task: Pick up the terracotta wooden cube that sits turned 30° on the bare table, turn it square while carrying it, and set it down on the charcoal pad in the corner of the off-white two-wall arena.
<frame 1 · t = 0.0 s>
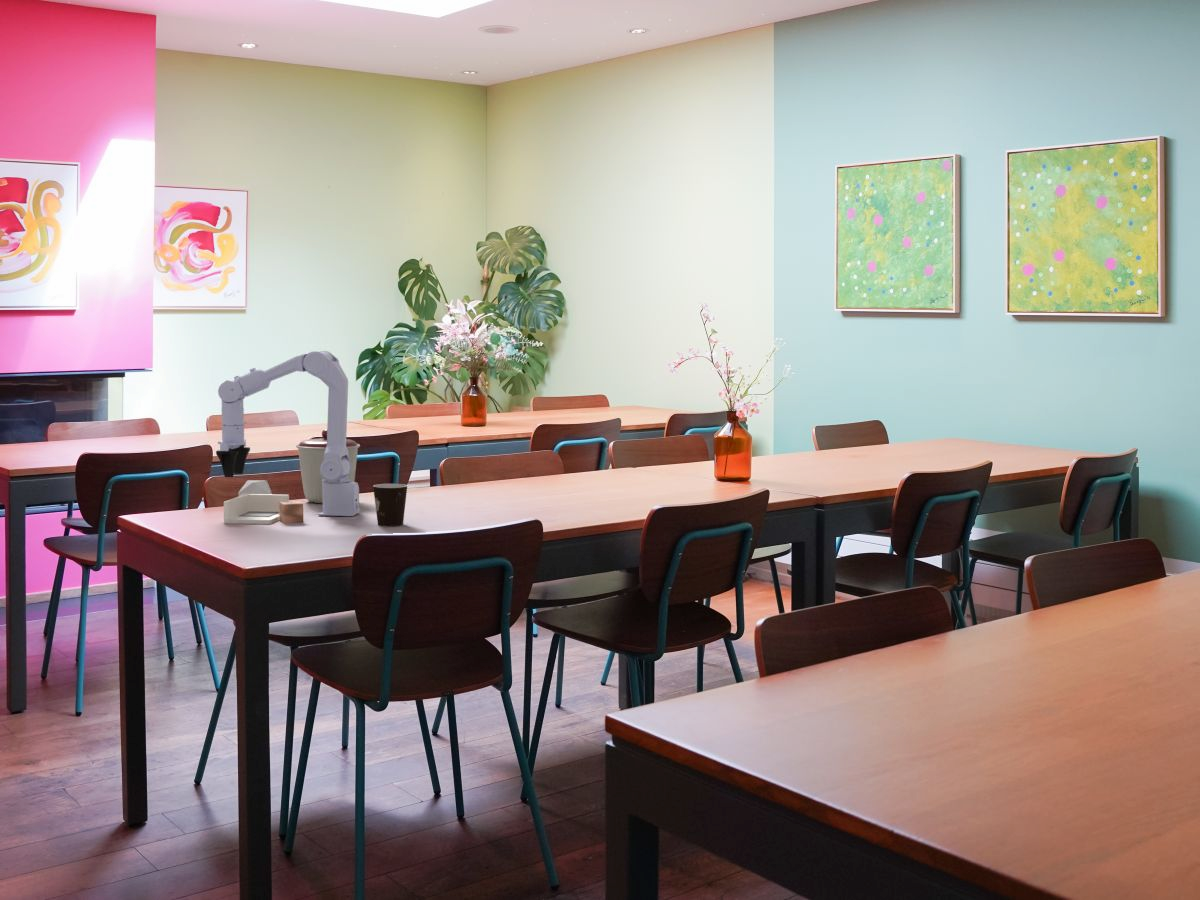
hand: (233, 475, 339), 10 cm above the table, fingers open, 7 cm apart
canister: (328, 502, 363), on the table
coffee mug: (390, 526, 319), on the table
arena: (257, 519, 328), on the table
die: (256, 510, 345), on the table
cube: (291, 521, 324), on the table
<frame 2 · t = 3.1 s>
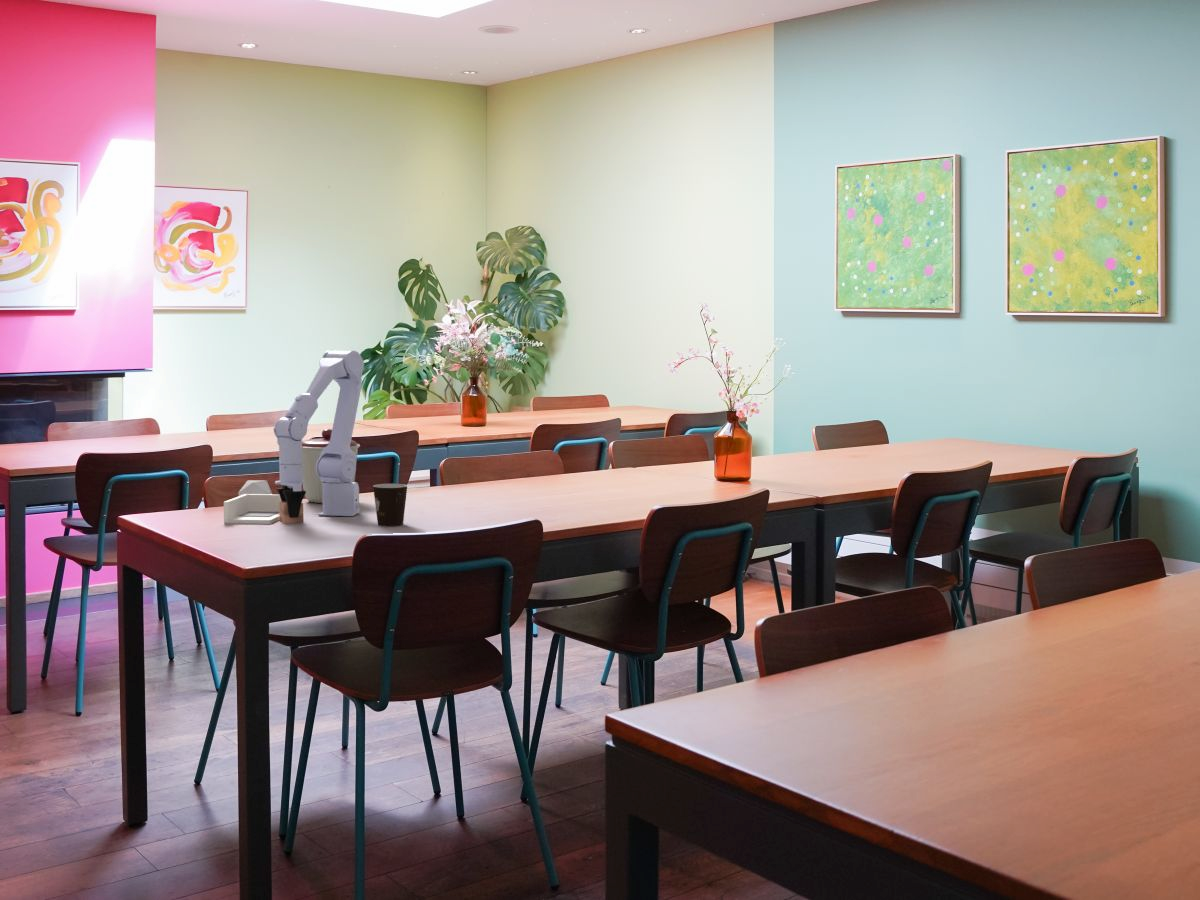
hand: (291, 516, 324), 1 cm above the table, fingers closed on cube, 5 cm apart
cube: (291, 521, 324), on the table, touching gripper
everything else where it was.
when the fingers open (4 cm above the table, at t = 6.8 s): cube stays where it is, resting on arena.
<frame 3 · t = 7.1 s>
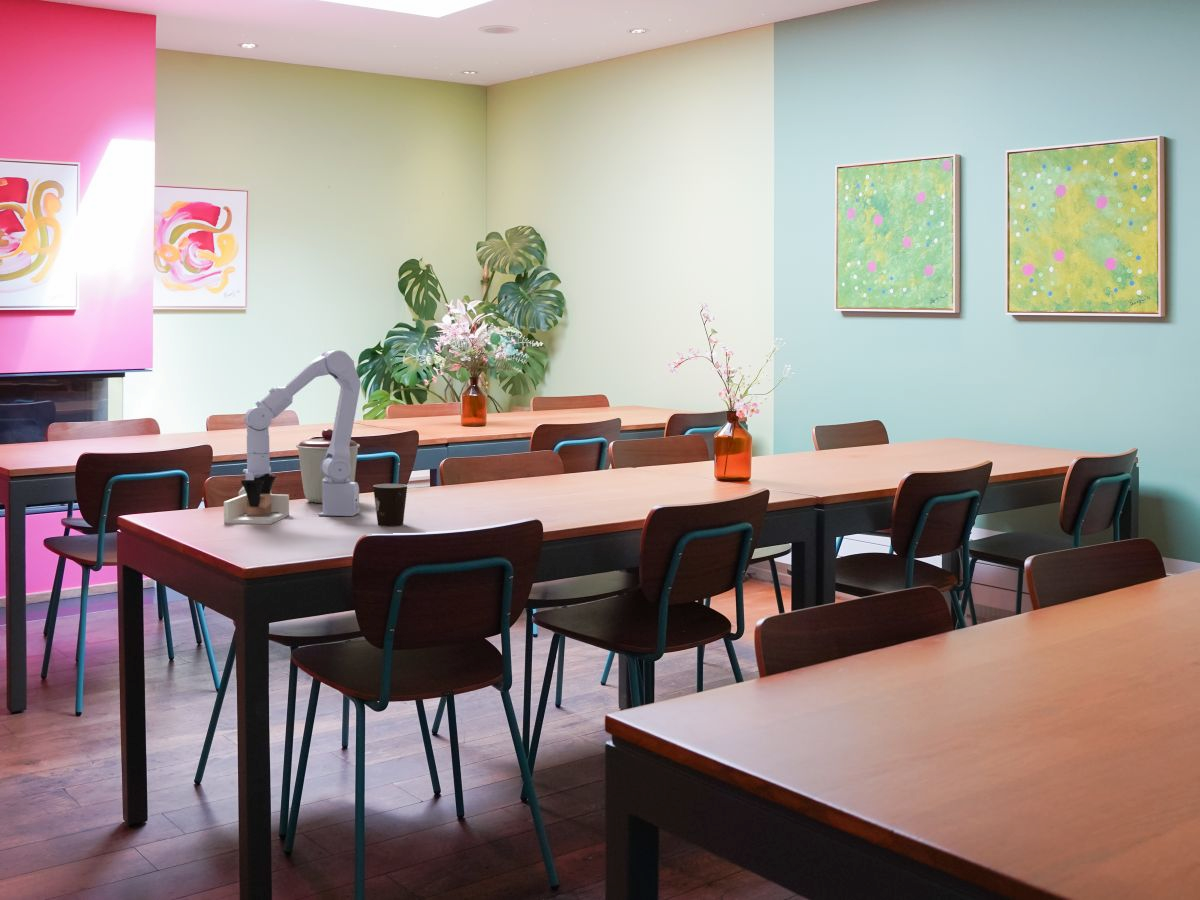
hand: (259, 504, 329), 4 cm above the table, fingers open, 7 cm apart
cube: (259, 513, 329), point 1 cm above the table, touching arena
everything else where it was.
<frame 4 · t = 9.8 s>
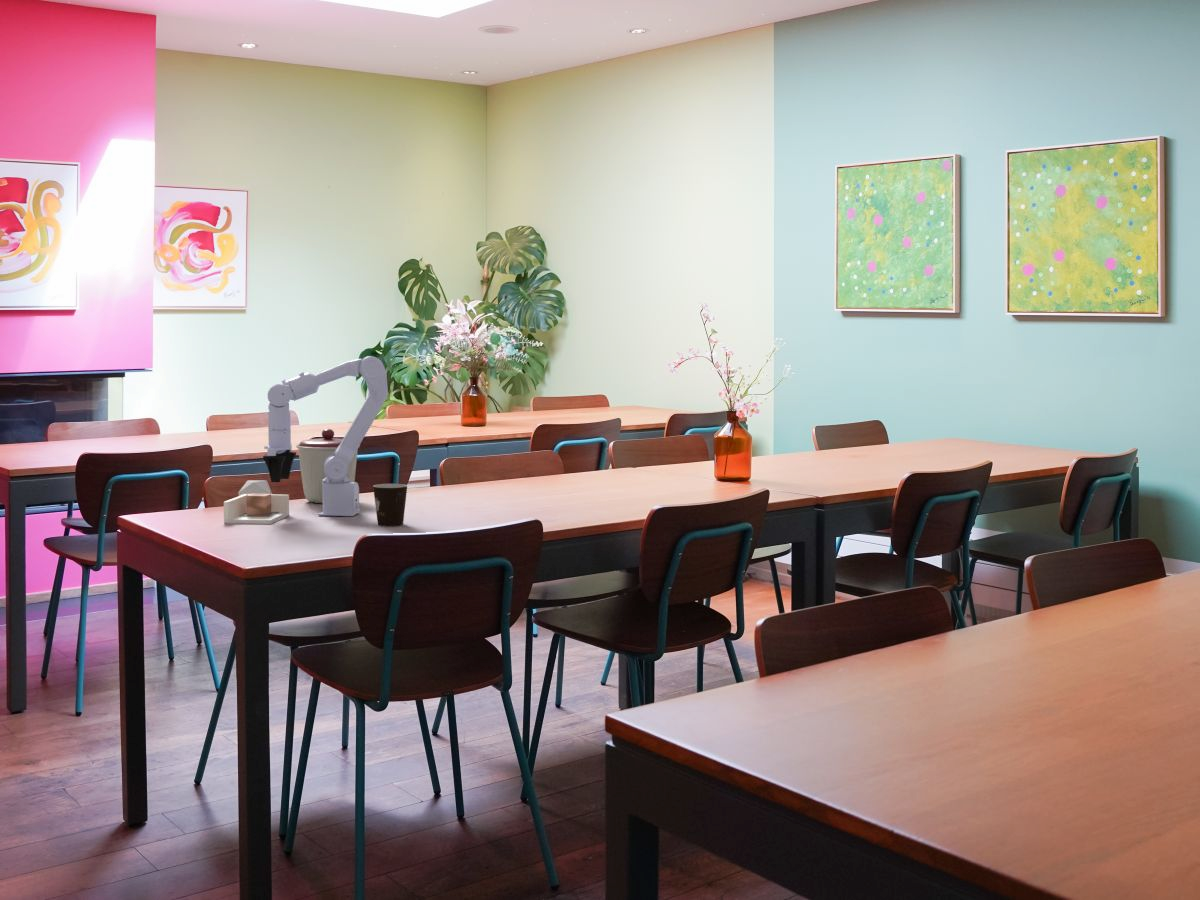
hand: (280, 480, 334), 9 cm above the table, fingers open, 7 cm apart
nothing on the table moved.
at the end: cube 0.0 cm from the target spot, point 1.2 cm above the table; cube tilted 0°; the gripper is holding nothing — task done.
